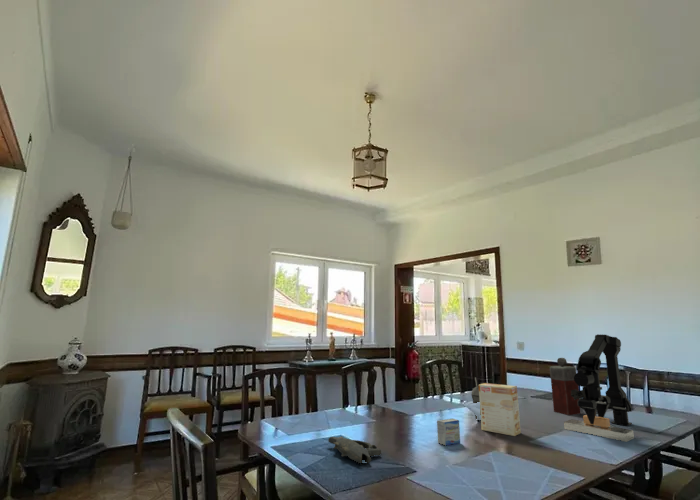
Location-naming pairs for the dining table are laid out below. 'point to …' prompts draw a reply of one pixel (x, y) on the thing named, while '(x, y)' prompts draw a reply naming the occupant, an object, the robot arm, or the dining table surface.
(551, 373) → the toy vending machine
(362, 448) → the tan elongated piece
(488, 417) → the coffeecake box
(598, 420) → the tan stepped block
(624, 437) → the rail
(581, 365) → the robot arm
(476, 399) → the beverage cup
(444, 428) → the medicine box
